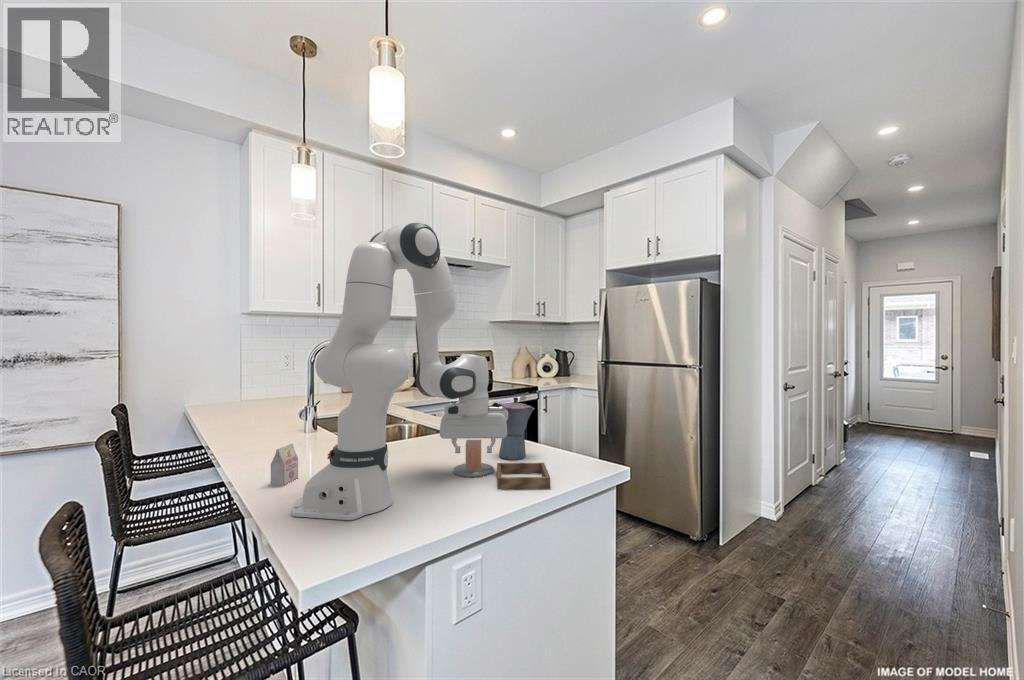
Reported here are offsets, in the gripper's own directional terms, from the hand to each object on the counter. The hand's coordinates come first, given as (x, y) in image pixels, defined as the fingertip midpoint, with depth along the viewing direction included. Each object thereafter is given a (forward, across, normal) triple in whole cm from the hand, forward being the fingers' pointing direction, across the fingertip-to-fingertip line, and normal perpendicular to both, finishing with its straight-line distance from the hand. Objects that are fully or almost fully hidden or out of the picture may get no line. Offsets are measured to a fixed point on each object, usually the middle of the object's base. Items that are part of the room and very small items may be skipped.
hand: (473, 452), depth 134 cm
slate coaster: (+6, 0, 0) cm, 6 cm away
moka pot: (+6, -12, -15) cm, 20 cm away
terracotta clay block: (+5, 0, 0) cm, 5 cm away
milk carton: (+6, +52, +8) cm, 53 cm away
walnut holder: (+6, -14, +9) cm, 18 cm away
